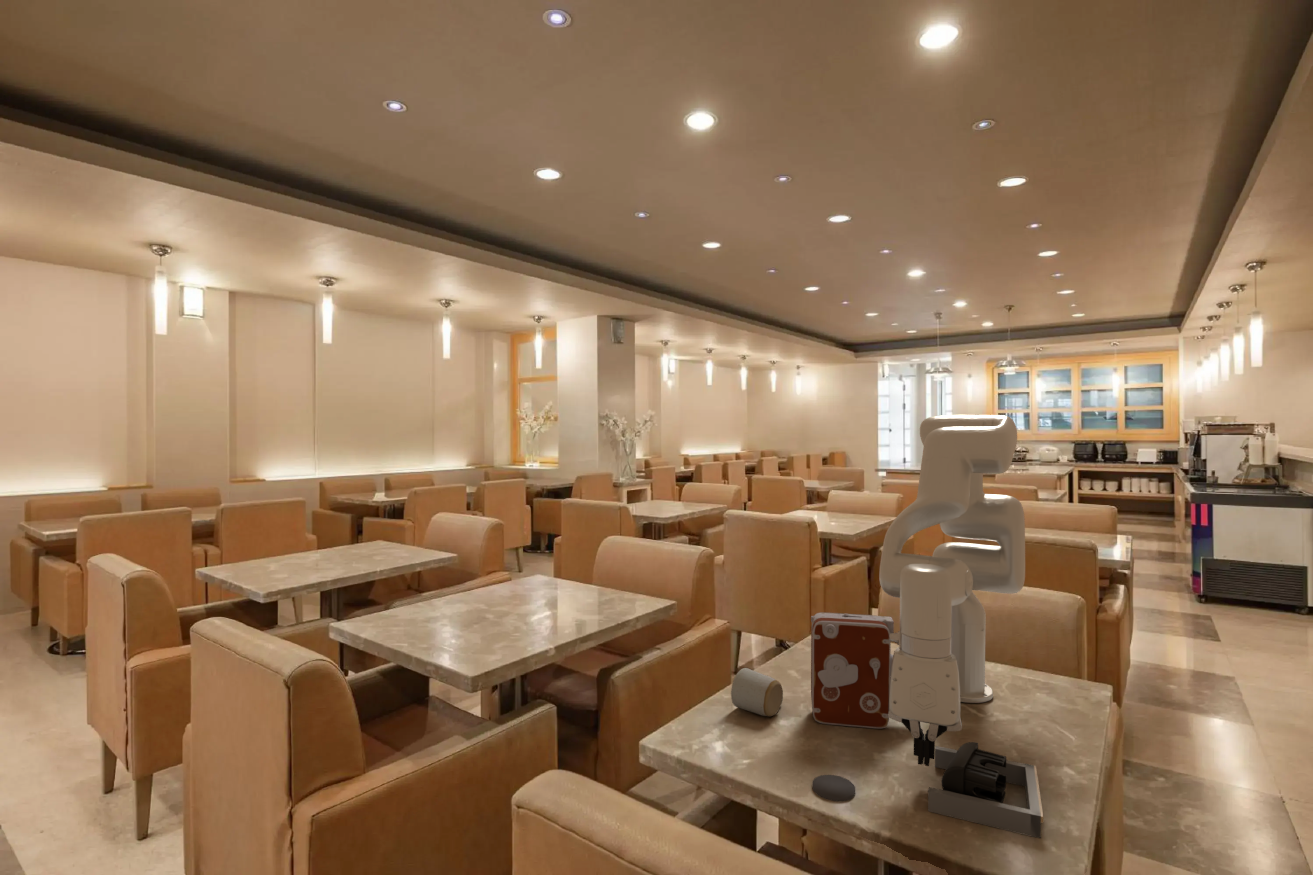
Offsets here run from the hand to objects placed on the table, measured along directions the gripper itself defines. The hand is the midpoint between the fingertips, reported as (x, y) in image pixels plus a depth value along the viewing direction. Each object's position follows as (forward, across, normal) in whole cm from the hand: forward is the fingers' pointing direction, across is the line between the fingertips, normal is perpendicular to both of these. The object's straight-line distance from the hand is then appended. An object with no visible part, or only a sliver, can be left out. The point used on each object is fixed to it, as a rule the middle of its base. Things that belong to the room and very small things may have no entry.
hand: (924, 760), depth 104 cm
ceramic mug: (+4, -31, +16) cm, 35 cm away
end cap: (+4, +7, -1) cm, 8 cm away
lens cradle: (+4, +8, 0) cm, 9 cm away
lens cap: (+4, -12, -8) cm, 15 cm away
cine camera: (+4, -12, +19) cm, 23 cm away
